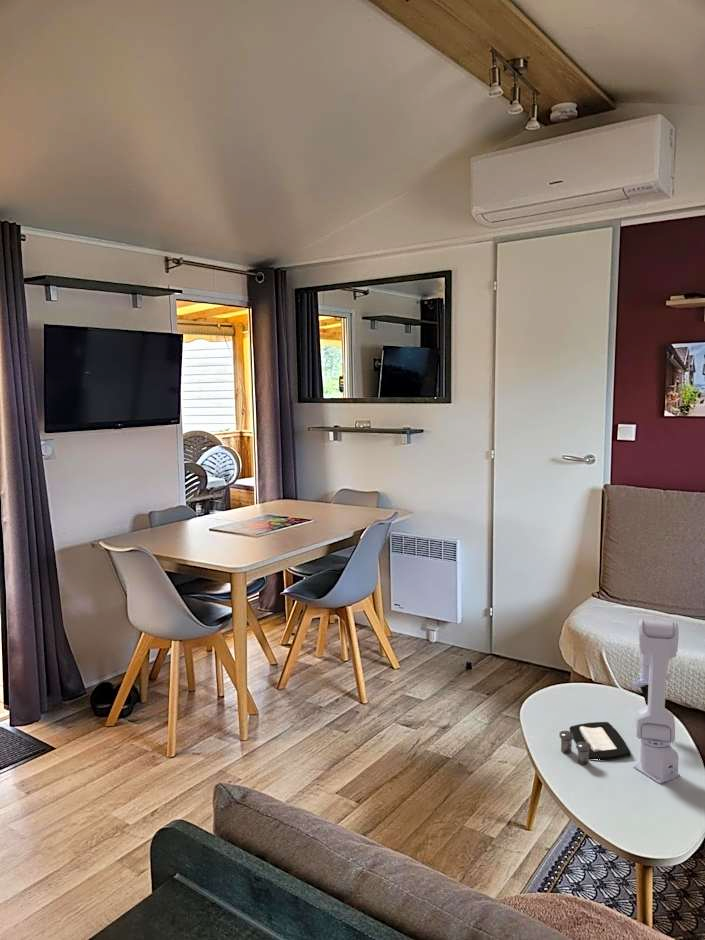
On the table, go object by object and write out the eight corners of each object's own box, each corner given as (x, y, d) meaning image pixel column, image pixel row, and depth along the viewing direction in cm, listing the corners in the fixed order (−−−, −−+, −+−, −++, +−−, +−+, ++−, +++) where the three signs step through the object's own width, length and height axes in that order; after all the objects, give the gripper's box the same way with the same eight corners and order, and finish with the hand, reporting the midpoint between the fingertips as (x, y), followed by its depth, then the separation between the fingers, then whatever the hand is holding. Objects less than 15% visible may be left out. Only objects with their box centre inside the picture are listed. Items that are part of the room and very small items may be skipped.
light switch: (565, 722, 225) (609, 717, 225) (566, 731, 225) (609, 725, 225) (586, 756, 205) (634, 750, 205) (587, 766, 206) (635, 760, 205)
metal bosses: (593, 764, 204) (593, 746, 203) (583, 767, 202) (583, 750, 202) (566, 746, 214) (566, 729, 213) (556, 749, 212) (556, 732, 211)
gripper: (657, 654, 224) (656, 694, 226) (623, 664, 218) (622, 705, 220) (676, 662, 218) (674, 703, 220) (641, 672, 212) (640, 715, 214)
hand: (649, 705), depth 220 cm, fingers closed
